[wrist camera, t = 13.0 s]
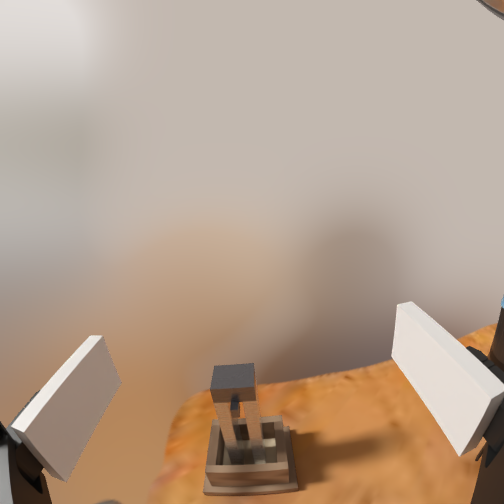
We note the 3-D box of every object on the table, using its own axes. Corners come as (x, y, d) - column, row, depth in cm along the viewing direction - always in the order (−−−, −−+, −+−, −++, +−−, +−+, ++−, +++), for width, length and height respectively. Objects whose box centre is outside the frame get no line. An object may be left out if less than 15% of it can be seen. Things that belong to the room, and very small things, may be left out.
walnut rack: (289, 430, 37) (288, 409, 36) (298, 490, 26) (298, 474, 24) (212, 435, 37) (206, 414, 36) (204, 494, 26) (195, 478, 25)
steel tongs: (265, 446, 33) (253, 363, 30) (266, 476, 28) (254, 395, 24) (234, 448, 33) (214, 365, 30) (233, 477, 28) (208, 397, 24)
